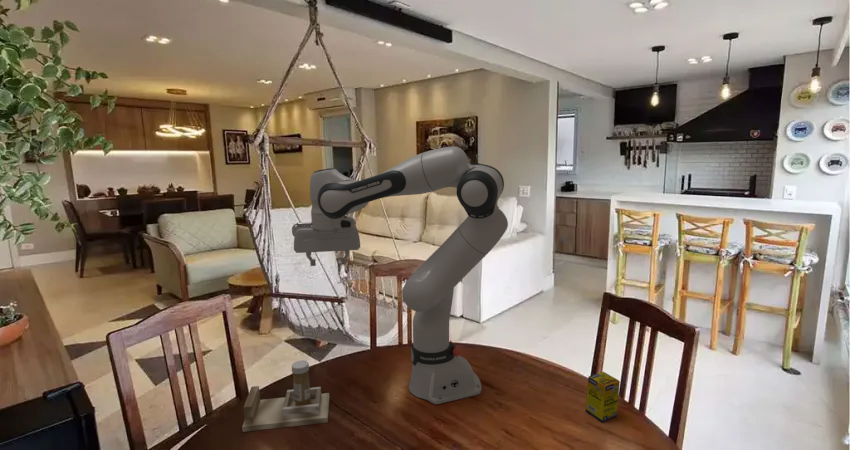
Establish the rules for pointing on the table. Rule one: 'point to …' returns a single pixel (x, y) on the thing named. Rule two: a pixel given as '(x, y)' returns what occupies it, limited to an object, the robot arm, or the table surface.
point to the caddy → (284, 410)
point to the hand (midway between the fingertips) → (328, 264)
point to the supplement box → (602, 396)
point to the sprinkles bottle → (301, 383)
